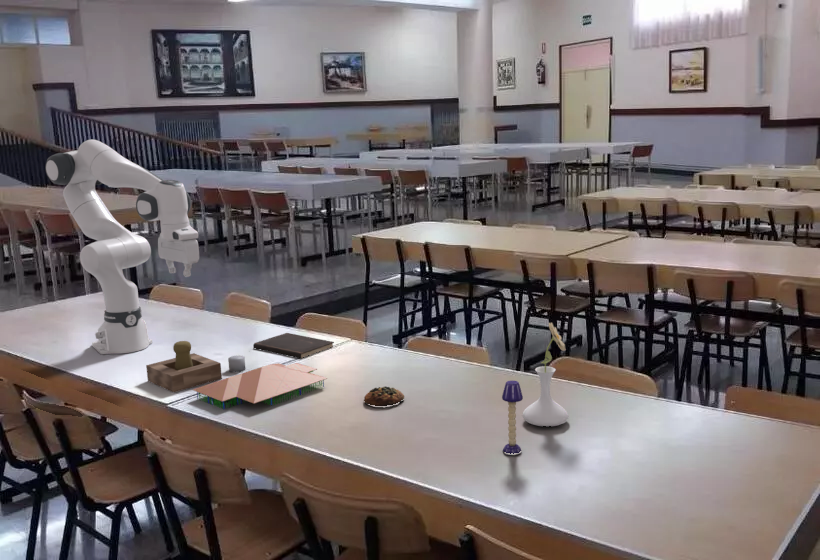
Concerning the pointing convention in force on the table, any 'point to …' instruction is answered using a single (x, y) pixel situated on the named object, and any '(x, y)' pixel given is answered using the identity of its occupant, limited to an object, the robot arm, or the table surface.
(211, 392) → the house
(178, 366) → the cork
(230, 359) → the short stub
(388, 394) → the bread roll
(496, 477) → the table surface
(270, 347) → the hardcover book
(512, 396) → the toy lamp
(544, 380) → the flower in vase
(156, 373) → the box
